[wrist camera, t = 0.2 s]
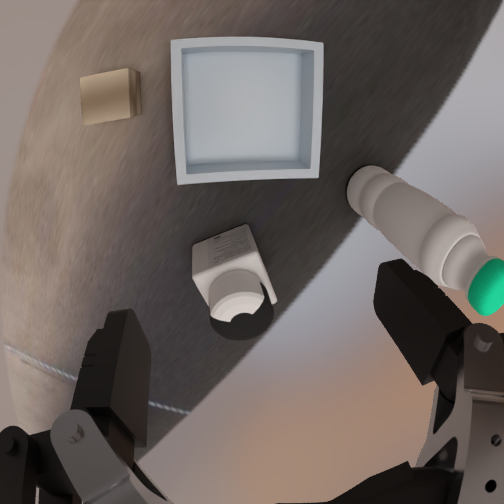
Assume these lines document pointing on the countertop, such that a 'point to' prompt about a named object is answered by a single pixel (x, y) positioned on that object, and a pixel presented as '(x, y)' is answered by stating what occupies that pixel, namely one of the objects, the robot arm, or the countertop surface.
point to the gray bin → (246, 108)
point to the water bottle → (429, 236)
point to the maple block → (110, 96)
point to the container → (234, 284)
